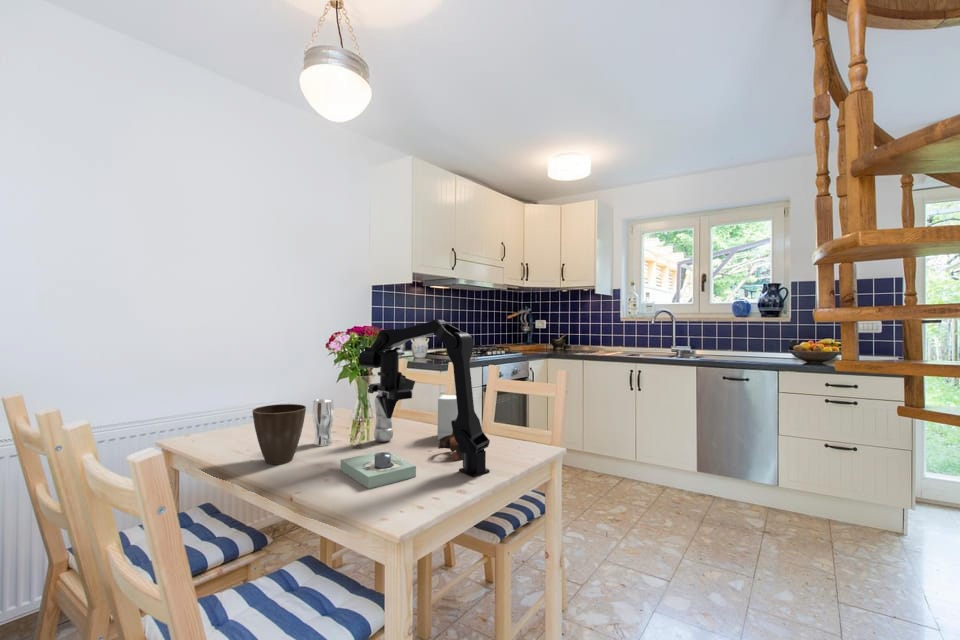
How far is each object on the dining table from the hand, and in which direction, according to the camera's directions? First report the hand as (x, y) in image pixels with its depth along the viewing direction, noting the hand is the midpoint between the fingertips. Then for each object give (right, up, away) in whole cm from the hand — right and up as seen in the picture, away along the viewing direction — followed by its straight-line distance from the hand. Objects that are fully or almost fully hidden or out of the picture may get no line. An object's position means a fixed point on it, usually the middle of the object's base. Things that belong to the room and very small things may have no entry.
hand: (389, 418), depth 139 cm
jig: (0, -12, -16) cm, 20 cm away
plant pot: (-32, -12, -5) cm, 35 cm away
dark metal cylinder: (+2, -12, -18) cm, 22 cm away
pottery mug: (+22, -13, +1) cm, 25 cm away
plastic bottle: (-6, -12, +18) cm, 22 cm away
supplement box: (+18, -13, +23) cm, 32 cm away
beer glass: (-26, -12, +14) cm, 32 cm away
